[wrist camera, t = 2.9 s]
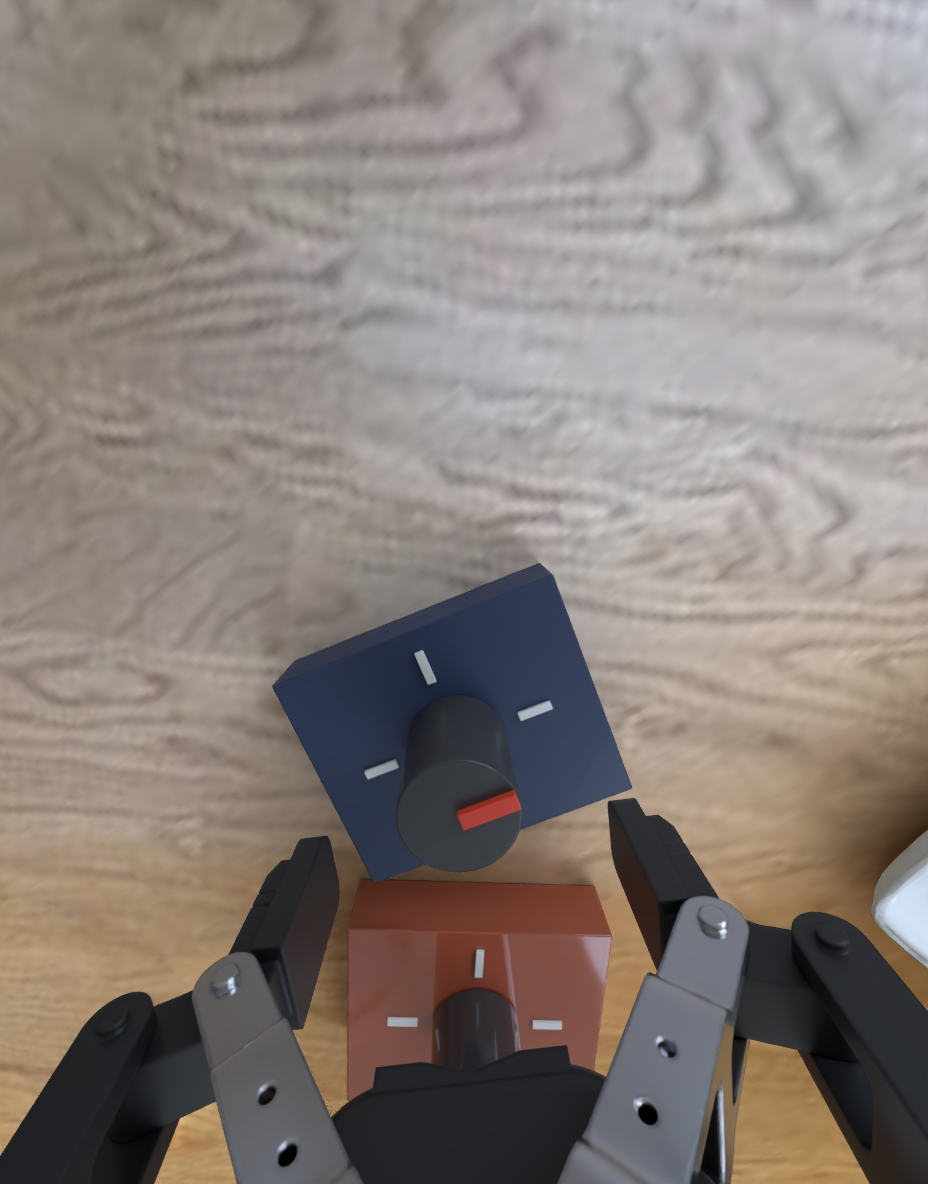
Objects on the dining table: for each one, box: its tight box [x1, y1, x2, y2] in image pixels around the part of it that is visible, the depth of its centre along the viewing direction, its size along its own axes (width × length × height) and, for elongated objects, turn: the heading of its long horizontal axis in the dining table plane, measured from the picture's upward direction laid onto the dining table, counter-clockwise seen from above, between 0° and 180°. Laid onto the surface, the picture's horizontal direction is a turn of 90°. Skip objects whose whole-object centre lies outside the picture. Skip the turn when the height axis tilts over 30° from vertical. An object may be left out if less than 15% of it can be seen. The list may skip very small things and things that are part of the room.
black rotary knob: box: [395, 695, 522, 872], centre depth 18 cm, size 4×4×5 cm
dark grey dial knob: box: [431, 989, 521, 1070], centre depth 21 cm, size 4×4×5 cm
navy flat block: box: [272, 563, 632, 883], centre depth 22 cm, size 12×10×3 cm
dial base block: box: [347, 879, 612, 1100], centre depth 25 cm, size 12×10×3 cm
